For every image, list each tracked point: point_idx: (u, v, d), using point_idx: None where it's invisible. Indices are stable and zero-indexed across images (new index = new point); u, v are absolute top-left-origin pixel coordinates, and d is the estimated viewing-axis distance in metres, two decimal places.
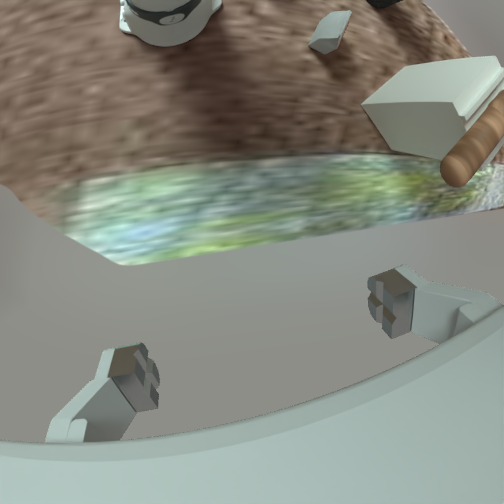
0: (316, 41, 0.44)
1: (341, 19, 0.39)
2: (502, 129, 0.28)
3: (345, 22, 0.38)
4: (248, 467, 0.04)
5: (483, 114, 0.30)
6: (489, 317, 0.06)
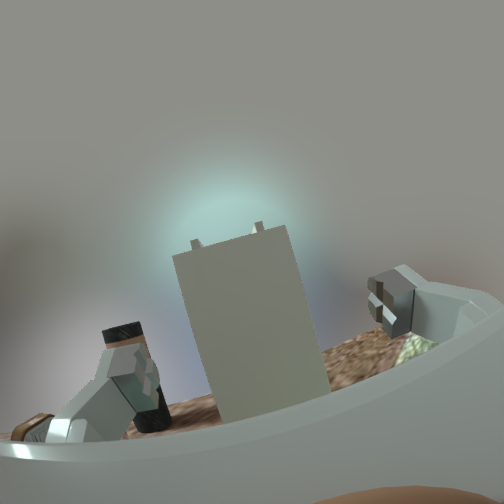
0: None
1: None
2: None
3: None
4: (248, 467, 0.04)
5: None
6: (489, 317, 0.06)
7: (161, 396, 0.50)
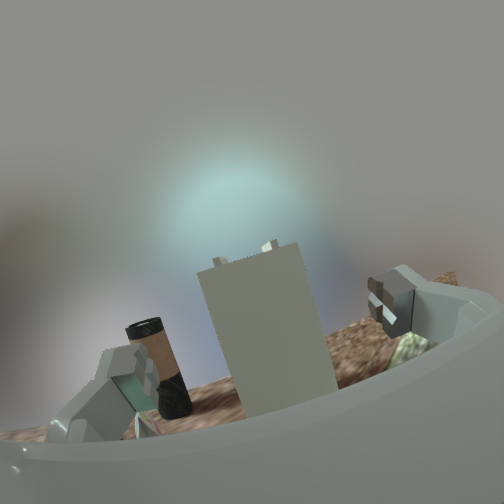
0: None
1: (136, 415, 0.38)
2: None
3: None
4: (248, 467, 0.04)
5: None
6: (489, 317, 0.06)
7: (183, 385, 0.56)
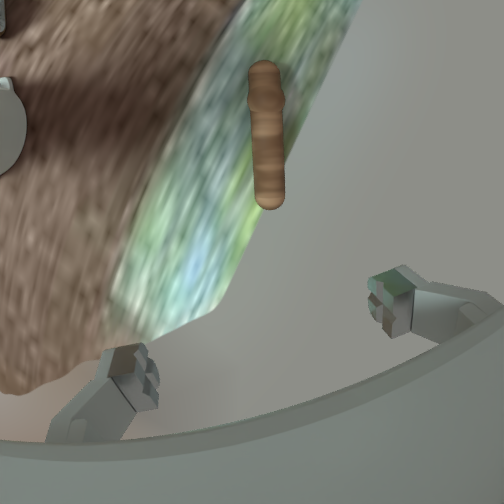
0: None
1: None
2: (270, 124, 0.39)
3: None
4: (248, 467, 0.04)
5: (251, 126, 0.41)
6: (489, 317, 0.06)
7: None
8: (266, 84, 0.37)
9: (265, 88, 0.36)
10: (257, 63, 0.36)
